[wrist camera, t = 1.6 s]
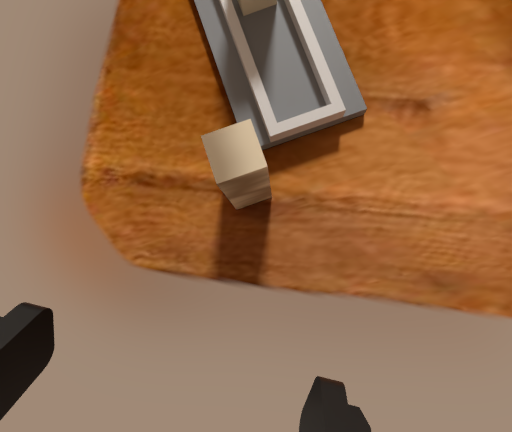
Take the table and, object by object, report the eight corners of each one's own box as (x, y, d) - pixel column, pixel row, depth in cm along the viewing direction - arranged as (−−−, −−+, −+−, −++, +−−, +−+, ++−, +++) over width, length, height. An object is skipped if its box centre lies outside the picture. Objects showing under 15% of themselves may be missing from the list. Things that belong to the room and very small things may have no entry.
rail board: (294, -49, 36) (300, -190, 25) (363, 114, 32) (406, 36, 21) (190, -11, 36) (150, -134, 25) (248, 155, 33) (231, 98, 22)
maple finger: (258, 159, 33) (248, 113, 23) (271, 197, 32) (267, 166, 22) (223, 171, 33) (199, 130, 23) (236, 209, 32) (216, 184, 22)
